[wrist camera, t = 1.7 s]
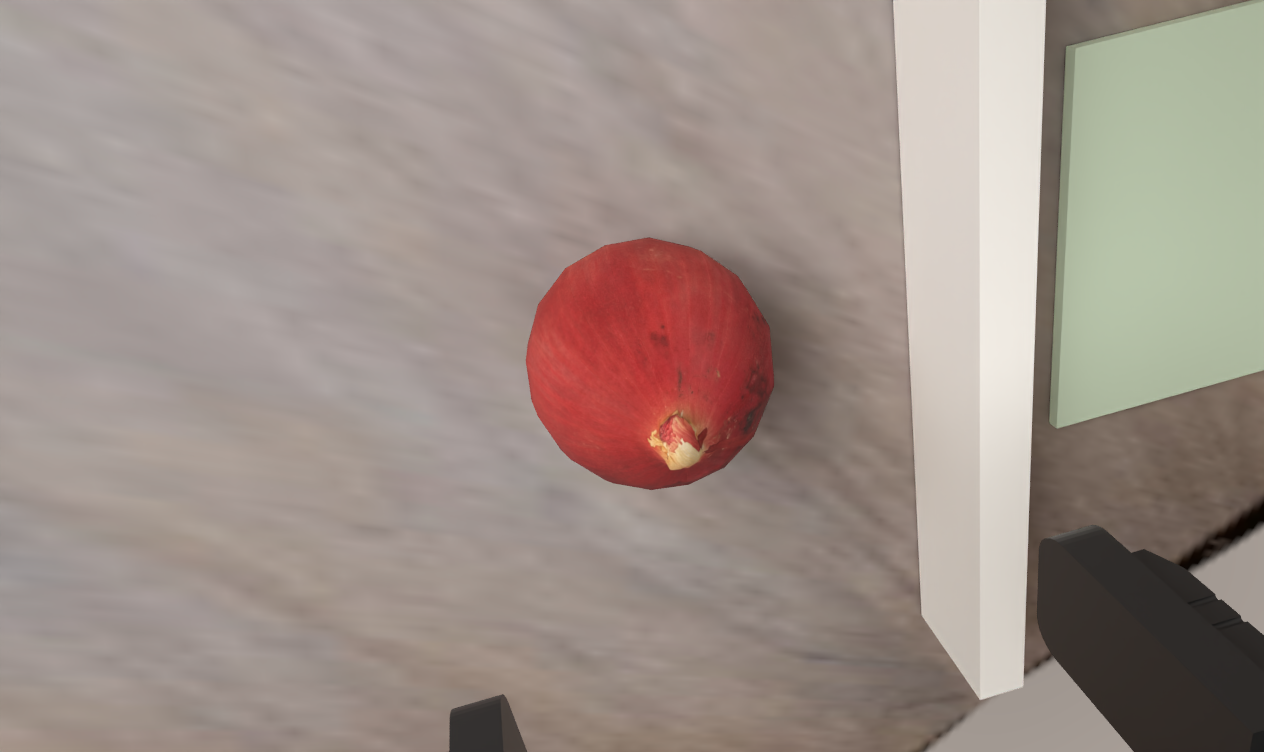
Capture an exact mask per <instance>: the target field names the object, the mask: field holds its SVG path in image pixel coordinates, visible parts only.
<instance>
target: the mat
mask: <svg viewBox="0 0 1264 752" xmlns="http://www.w3.org/2000/svg"><path fill="white" fill-rule="evenodd" d="M1263 370H1264V0H1251V1H1247V2H1243V3H1239V4H1235V5H1231V6H1226V7H1222V8H1218V9H1214V10H1210V11H1206V12H1202V13H1198V14H1194V15H1190V16H1186V17H1182V18H1178V19H1174V20H1170V21H1166V22H1162V23H1158V24H1154V25H1150V26H1146V27H1142V28H1138V29H1134V30H1130V31H1126V32H1122V33H1118V34H1114V35H1110V36H1106V37H1102V38H1098V39H1094V40H1090V41H1086V42H1082V43H1078V44H1074V45H1070V46H1066V59H1065V81H1064V103H1063V125H1062V148H1061V170H1060V192H1059V215H1058V237H1057V259H1056V282H1055V304H1054V326H1053V349H1052V371H1051V393H1050V415H1049V423H1050V424H1051V425H1053V426H1054V427H1055V428H1056V429H1057V428H1061V427H1064V426H1068V425H1071V424H1075V423H1079V422H1082V421H1086V420H1089V419H1093V418H1096V417H1100V416H1103V415H1107V414H1110V413H1114V412H1117V411H1121V410H1125V409H1128V408H1132V407H1135V406H1139V405H1142V404H1146V403H1149V402H1153V401H1156V400H1160V399H1163V398H1167V397H1171V396H1174V395H1178V394H1181V393H1185V392H1188V391H1192V390H1195V389H1199V388H1202V387H1206V386H1210V385H1213V384H1217V383H1220V382H1224V381H1227V380H1231V379H1234V378H1238V377H1241V376H1245V375H1248V374H1252V373H1256V372H1259V371H1263Z"/></svg>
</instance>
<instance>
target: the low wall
mask: <svg viewBox="0 0 1264 752" xmlns="http://www.w3.org/2000/svg"><path fill="white" fill-rule="evenodd" d="M893 9H894V31H895V52H896V74H897V95H898V117H899V138H900V160H901V182H902V203H903V225H904V246H905V268H906V290H907V311H908V333H909V354H910V376H911V398H912V419H913V441H914V462H915V484H916V506H917V527H918V549H919V570H920V592H921V614H922V617H923V618H924V619H925V621H926V622H927V624H928V625H929V627H930V628H931V630H932V631H933V632H934V634H935V635H936V637H937V638H938V640H939V641H940V643H941V644H942V645H943V647H944V648H945V650H946V651H947V653H948V654H949V656H950V657H951V658H952V660H953V661H954V663H955V664H956V666H957V667H958V669H959V670H960V671H961V673H962V674H963V676H964V677H965V679H966V680H967V682H968V683H969V684H970V686H971V687H972V689H973V690H974V692H975V693H976V695H977V696H978V697H979V699H980V700H982V699H985V698H988V697H992V696H995V695H998V694H1002V693H1005V692H1008V691H1011V690H1015V689H1018V688H1021V687H1023V676H1024V646H1025V616H1026V586H1027V556H1028V526H1029V496H1030V466H1031V436H1032V406H1033V376H1034V346H1035V316H1036V286H1037V256H1038V226H1039V196H1040V166H1041V136H1042V106H1043V76H1044V46H1045V16H1046V0H893Z"/></svg>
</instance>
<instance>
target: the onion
mask: <svg viewBox="0 0 1264 752" xmlns="http://www.w3.org/2000/svg"><path fill="white" fill-rule="evenodd" d="M526 365H527V372H528V379H529V385H530V392H531V399H532V403H533V405H534V407H535V410H536V412H537V415H538V417H539V418H540V420H541V421H542V423H543V424H544V426H545V427H546V429H547V430H548V432H549V433H550V434H551V436H552V437H553V439H554V440H555V442H556V443H557V445H558V446H559V448H560V449H561V450H562V451H563V452H564V453H565V454H566V455H567V456H568V457H569V458H570V459H571V460H573V461H574V462H576V463H578V464H579V465H581V466H583V467H584V468H586V469H588V470H589V471H591V472H593V473H594V474H596V475H598V476H599V477H601V478H603V479H604V480H607V481H609V482H612V483H615V484H621V485H627V486H632V487H638V488H644V489H649V490H654V489H661V488H668V487H675V486H682V485H689V484H691V483H693V482H695V481H697V480H699V479H701V478H703V477H705V476H707V475H709V474H712V473H714V472H716V471H718V470H720V469H722V468H724V467H725V466H726V465H727V464H728V463H729V462H730V461H731V460H732V459H733V458H734V457H735V455H736V454H737V453H738V452H739V451H740V450H741V449H742V448H743V447H744V446H745V445H746V444H747V443H748V442H749V441H750V440H751V439H752V437H753V436H754V434H755V432H756V429H757V427H758V424H759V422H760V419H761V417H762V414H763V412H764V410H765V407H766V405H767V402H768V400H769V397H770V395H771V392H772V390H773V387H774V373H773V362H772V351H771V340H770V329H769V325H768V324H767V322H766V320H765V319H764V317H763V316H762V314H761V312H760V311H759V309H758V307H757V306H756V304H755V302H754V301H753V299H752V297H751V296H750V294H749V293H748V291H747V289H746V288H745V286H744V285H743V283H742V282H741V280H740V279H739V277H738V276H737V275H735V274H734V273H732V272H731V271H730V270H728V269H727V268H725V267H724V266H722V265H721V264H719V263H718V262H716V261H715V260H713V259H712V258H711V257H709V256H708V255H706V254H705V253H703V252H702V251H699V250H697V249H694V248H691V247H688V246H684V245H680V244H675V243H671V242H666V241H662V240H657V239H653V238H644V239H638V240H632V241H627V242H621V243H616V244H610V245H605V246H603V247H601V248H600V249H598V250H596V251H595V252H593V253H591V254H589V255H588V256H586V257H584V258H583V259H581V260H579V261H577V262H576V263H574V264H572V265H571V266H569V267H567V268H565V270H564V271H563V272H562V274H561V275H560V276H559V278H558V279H557V280H556V282H555V283H554V284H553V286H552V287H551V288H550V290H549V291H548V292H547V294H546V295H545V296H544V298H543V299H542V300H541V302H540V303H539V304H538V308H537V311H536V315H535V319H534V323H533V327H532V330H531V334H530V338H529V342H528V347H527V356H526Z"/></svg>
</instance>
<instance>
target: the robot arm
mask: <svg viewBox="0 0 1264 752" xmlns="http://www.w3.org/2000/svg"><path fill="white" fill-rule="evenodd" d="M1037 619H1038V624H1039V628H1040V631H1041V634H1042V637H1043V639H1044V641H1045V643H1046V645H1047V647H1048V649H1049V651H1050V652H1051V654H1052V655H1053V656H1054V658H1055V659H1056V660H1057V661H1058V663H1059V664H1060V665H1061V666H1062V667H1063V669H1064V670H1065V671H1066V672H1067V673H1068V674H1069V676H1070V677H1071V678H1072V679H1073V680H1074V682H1075V683H1076V684H1077V685H1078V686H1079V687H1080V688H1081V690H1082V691H1083V692H1084V693H1085V694H1086V696H1087V697H1088V698H1089V699H1090V700H1091V702H1092V703H1093V704H1094V705H1095V706H1096V708H1097V709H1098V710H1099V711H1100V712H1101V713H1102V714H1103V716H1104V717H1105V718H1106V719H1107V720H1108V722H1109V723H1110V724H1111V725H1112V726H1113V728H1114V729H1115V730H1116V731H1117V732H1118V733H1119V734H1120V736H1121V737H1122V738H1123V739H1124V740H1125V742H1126V743H1127V744H1128V745H1129V746H1130V748H1131V749H1132V750H1133V751H1134V752H1264V635H1263V634H1262V633H1260V632H1259V631H1258V630H1257V629H1256V628H1254V627H1253V626H1252V625H1251V624H1250V623H1249V622H1243V621H1242V619H1241V616H1240V615H1239V614H1238V613H1237V612H1236V611H1234V610H1233V609H1232V608H1231V607H1230V606H1229V605H1227V604H1226V603H1225V602H1224V601H1222V600H1218V599H1217V598H1216V596H1215V594H1214V593H1213V592H1212V591H1211V590H1210V589H1208V588H1207V587H1206V586H1205V585H1204V584H1202V583H1201V582H1200V581H1199V580H1198V579H1197V578H1195V577H1194V576H1193V575H1192V574H1191V573H1190V572H1188V571H1187V570H1186V569H1185V568H1183V567H1181V566H1179V565H1177V564H1175V563H1172V562H1170V561H1168V560H1166V559H1164V558H1162V557H1160V556H1158V555H1155V554H1153V553H1151V552H1149V551H1147V550H1145V549H1143V550H1140V551H1136V552H1133V553H1131V552H1129V551H1128V550H1127V549H1126V548H1125V547H1124V546H1123V545H1122V544H1120V543H1119V542H1118V541H1117V540H1116V539H1115V538H1114V537H1113V536H1111V535H1110V534H1109V533H1108V532H1107V531H1106V530H1104V529H1103V528H1101V527H1099V526H1096V525H1091V526H1087V527H1084V528H1080V529H1077V530H1073V531H1070V532H1066V533H1063V534H1060V535H1056V536H1053V537H1049V538H1046V539H1044V540H1042V542H1041V543H1040V547H1039V564H1038V596H1037ZM449 752H527V750H526V748H525V745H524V742H523V740H522V737H521V735H520V732H519V729H518V727H517V724H516V722H515V719H514V716H513V714H512V711H511V708H510V706H509V703H508V701H507V699H506V697H505V696H504V695H503V694H502V695H499V696H495V697H492V698H489V699H485V700H482V701H478V702H475V703H471V704H468V705H464V706H461V707H458V708H454V709H452V710H451V713H450V751H449Z"/></svg>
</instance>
